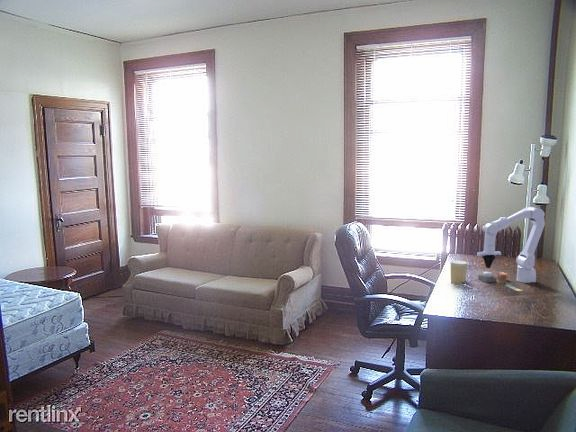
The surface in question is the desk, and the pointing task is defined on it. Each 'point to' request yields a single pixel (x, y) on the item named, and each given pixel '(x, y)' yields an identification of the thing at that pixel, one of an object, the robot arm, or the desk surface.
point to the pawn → (502, 279)
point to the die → (503, 273)
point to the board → (493, 279)
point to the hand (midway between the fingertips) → (487, 267)
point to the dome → (487, 274)
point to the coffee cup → (458, 271)
